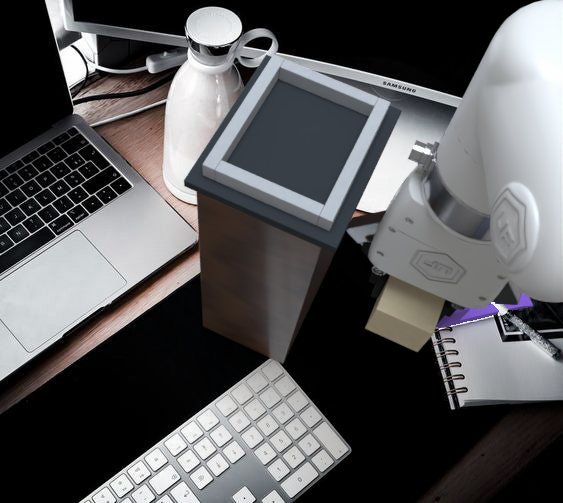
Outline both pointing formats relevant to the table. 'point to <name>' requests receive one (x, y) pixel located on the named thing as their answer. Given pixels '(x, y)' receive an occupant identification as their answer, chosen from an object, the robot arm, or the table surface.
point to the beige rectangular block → (405, 314)
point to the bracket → (481, 312)
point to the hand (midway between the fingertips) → (408, 296)
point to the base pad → (296, 151)
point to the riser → (255, 278)
